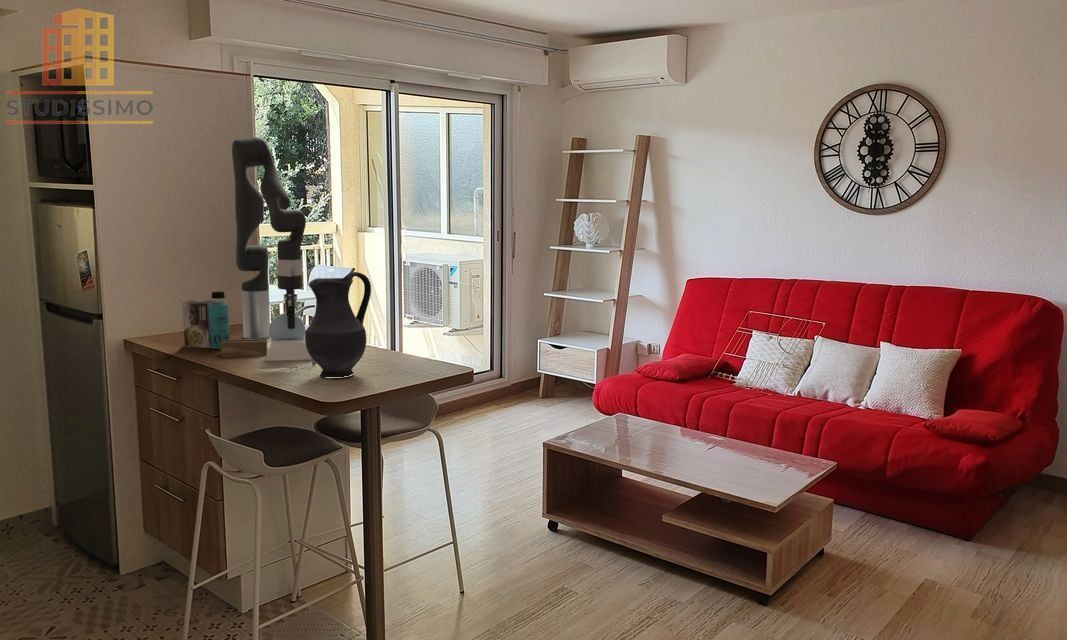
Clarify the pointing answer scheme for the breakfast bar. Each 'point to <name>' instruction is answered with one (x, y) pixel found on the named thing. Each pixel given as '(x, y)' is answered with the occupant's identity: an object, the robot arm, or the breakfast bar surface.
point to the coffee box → (196, 323)
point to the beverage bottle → (218, 321)
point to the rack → (288, 350)
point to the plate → (286, 329)
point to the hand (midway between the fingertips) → (291, 327)
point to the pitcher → (337, 326)
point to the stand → (244, 347)
